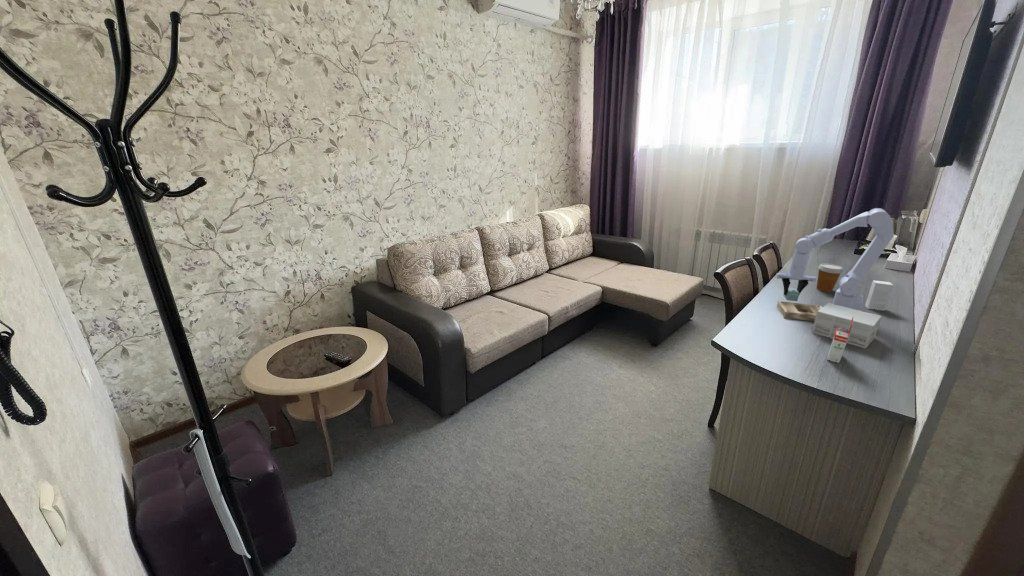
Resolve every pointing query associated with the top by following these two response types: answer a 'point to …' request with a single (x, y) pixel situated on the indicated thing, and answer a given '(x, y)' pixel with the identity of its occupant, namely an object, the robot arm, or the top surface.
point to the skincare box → (879, 295)
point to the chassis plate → (798, 310)
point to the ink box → (839, 343)
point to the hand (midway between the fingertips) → (791, 294)
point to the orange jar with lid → (828, 276)
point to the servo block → (792, 294)
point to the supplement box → (847, 324)
